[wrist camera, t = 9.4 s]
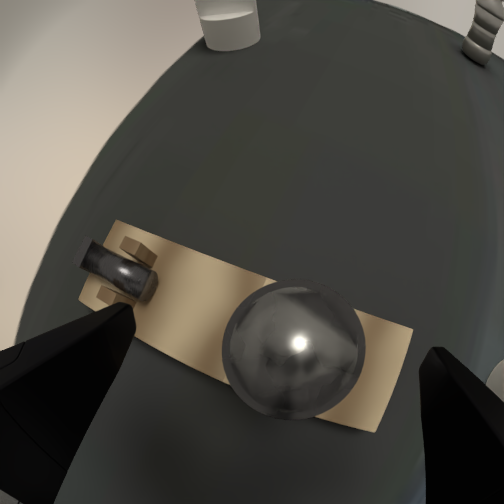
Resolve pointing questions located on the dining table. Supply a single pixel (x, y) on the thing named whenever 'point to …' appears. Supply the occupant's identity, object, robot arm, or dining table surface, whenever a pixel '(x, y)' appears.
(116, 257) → the lock pin
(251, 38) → the base with upright slab
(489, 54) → the plastic bottle
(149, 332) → the dock
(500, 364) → the cylindrical container
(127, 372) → the dining table surface
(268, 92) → the dining table surface
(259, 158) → the dining table surface
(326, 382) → the grey metallic cylinder
